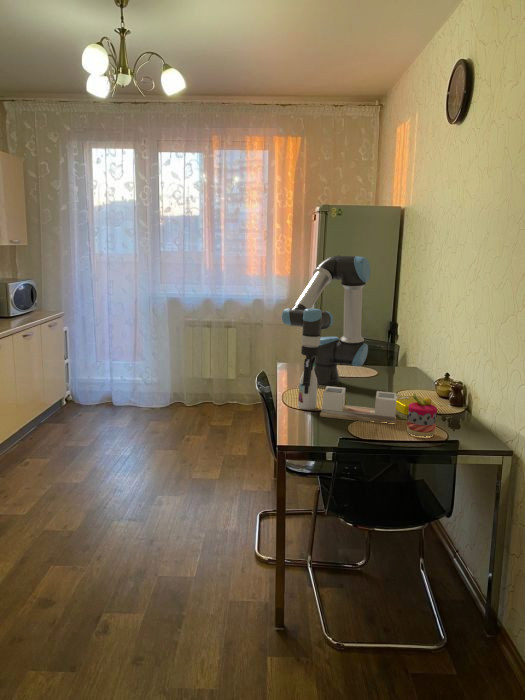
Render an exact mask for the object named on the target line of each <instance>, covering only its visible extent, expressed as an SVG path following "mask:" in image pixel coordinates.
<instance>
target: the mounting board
mask: <svg viewBox="0 0 525 700" xmlns="http://www.w3.org/2000/svg"><path fill="white" fill-rule="evenodd" d="M374 414H375V407H367V406H357V405H347V404H346V405H345V404H344V408H343V411H334V410H325V409H322V408H321V411H320V413H319V417H323V418H330V419H339V420H340V419H341V420H348V421H349V420H350V421H355V422H357V420H358V422H365V421H374V422H387V423H396V424H397V411H396V412H395V417H389V416H380V415H374Z"/></svg>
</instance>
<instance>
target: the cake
mask: <svg viewBox="0 0 525 700" xmlns="http://www.w3.org/2000/svg"><path fill="white" fill-rule="evenodd" d="M412 396H413V397H414V399H415V400H416V401H417V402H415V403H411V404H409V408H408V411H409V412H408V413H409V414H408V415H406V416H407V418H406V419H407V421H406V422H405V423H406V425H407V426H406V433H407V432H408V433H410V434H412V435H415V436H424V437H426V436H432V435H434V436H435V430H436V429H437V423H436V422H437V421H436V418H437V414H438V407H437V406H436V405H435V406H434V405H432V404H431V403H433V401H432V399H431V398H430V397H424V399H423V402H421V401H420V400H418V399H417V397H416V396H417V395H416V393H413V395H412Z"/></svg>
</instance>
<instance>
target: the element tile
mask: <svg viewBox="0 0 525 700" xmlns="http://www.w3.org/2000/svg"><path fill="white" fill-rule="evenodd" d="M416 397H417V399H418V400H420V401H421V402H423V399H424V398H425V397H424V398H423V397H421V396H420V395H416ZM415 402H417V401H416V400H415V399H414V397H413V395H403V396H402V395H401V396H400V395H396V412H400V413H401V414H403V415H405V416H408V414H409V413H408V412H409V411H408V408H409V404H411V403H415ZM431 404H432V405H434V406H436V403H434V402H432V403H431Z"/></svg>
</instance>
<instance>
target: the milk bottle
mask: <svg viewBox="0 0 525 700" xmlns="http://www.w3.org/2000/svg"><path fill="white" fill-rule="evenodd" d="M311 365H312V364H311ZM310 368H311V367H310ZM314 368H315V362H314V364H313V370H312V371H311V378H310V398H309V401H303V386H302V384H303V377H304V370H303V372H302V374H301V376H300V377H299V382H298V383H299V385H298V401H297V407H298V408H299V409H301V410H307V411H311V410H315V409H316V408H317V397H318V383H317V377H316V375H315V371H314ZM305 383H306V382H305Z"/></svg>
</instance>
